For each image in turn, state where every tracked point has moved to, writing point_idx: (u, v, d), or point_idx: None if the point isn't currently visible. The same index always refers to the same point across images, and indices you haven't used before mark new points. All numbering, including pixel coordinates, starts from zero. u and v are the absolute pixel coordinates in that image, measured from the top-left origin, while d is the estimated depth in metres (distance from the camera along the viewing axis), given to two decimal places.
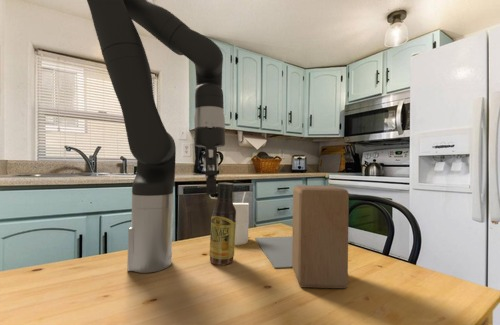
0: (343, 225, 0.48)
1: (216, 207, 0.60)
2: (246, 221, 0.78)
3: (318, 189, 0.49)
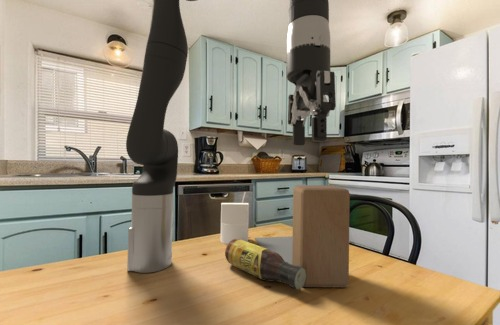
0: (344, 224, 0.49)
1: (269, 267, 0.49)
2: (246, 221, 0.78)
3: (320, 189, 0.49)
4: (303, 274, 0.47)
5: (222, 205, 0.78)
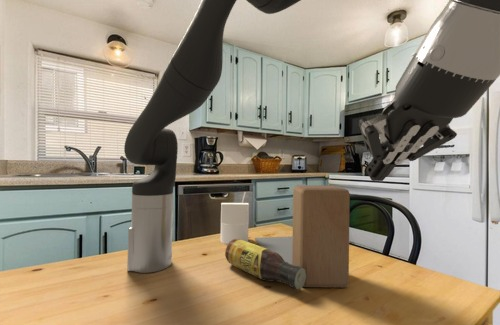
0: (344, 224, 0.49)
1: (269, 267, 0.49)
2: (246, 221, 0.78)
3: (319, 189, 0.49)
4: (303, 274, 0.47)
5: (222, 205, 0.78)
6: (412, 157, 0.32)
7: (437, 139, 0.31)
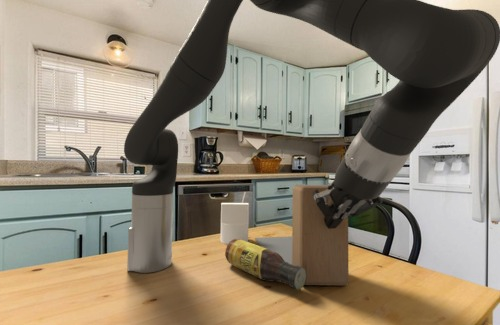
0: (343, 222, 0.49)
1: (269, 267, 0.49)
2: (246, 221, 0.78)
3: (318, 187, 0.50)
4: (303, 274, 0.47)
5: (222, 205, 0.78)
6: (353, 214, 0.44)
7: (369, 204, 0.43)
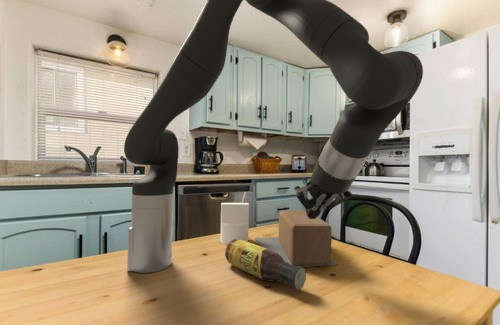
0: None
1: (269, 267, 0.49)
2: (246, 221, 0.78)
3: None
4: (303, 274, 0.47)
5: (222, 205, 0.78)
6: (329, 207, 0.53)
7: (342, 197, 0.52)
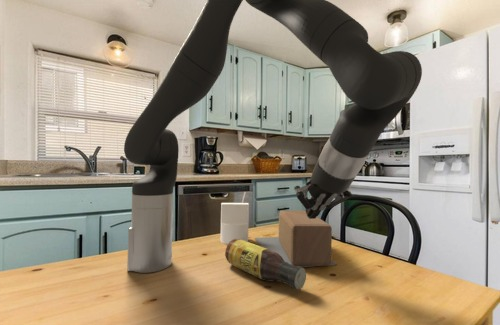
0: None
1: (269, 267, 0.49)
2: (246, 221, 0.78)
3: None
4: (303, 274, 0.47)
5: (222, 205, 0.78)
6: (329, 206, 0.53)
7: (341, 197, 0.52)
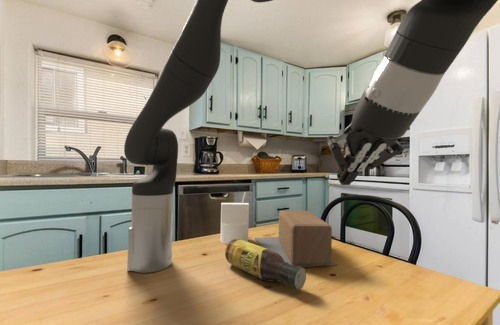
0: (311, 214, 0.72)
1: (269, 267, 0.49)
2: (246, 221, 0.78)
3: None
4: (303, 274, 0.47)
5: (222, 205, 0.78)
6: (370, 166, 0.41)
7: (389, 152, 0.39)
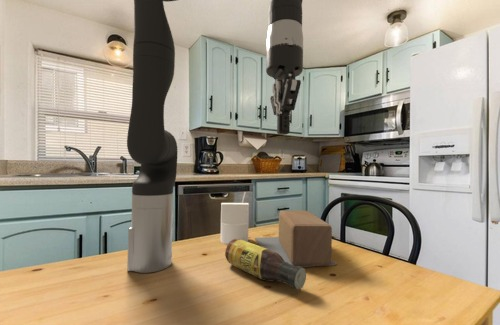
0: (311, 214, 0.72)
1: (269, 267, 0.49)
2: (246, 221, 0.78)
3: None
4: (303, 274, 0.47)
5: (222, 205, 0.78)
6: None
7: None
